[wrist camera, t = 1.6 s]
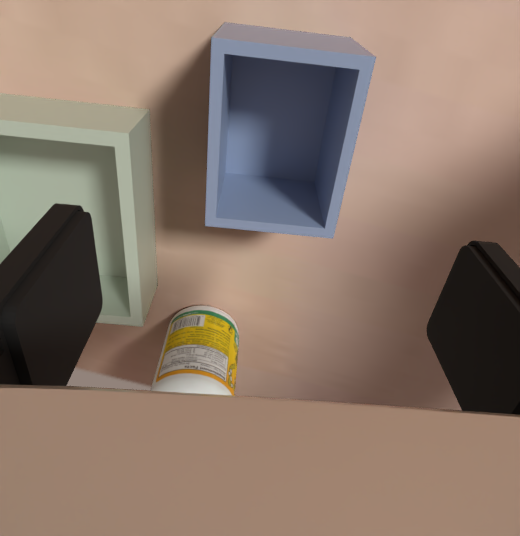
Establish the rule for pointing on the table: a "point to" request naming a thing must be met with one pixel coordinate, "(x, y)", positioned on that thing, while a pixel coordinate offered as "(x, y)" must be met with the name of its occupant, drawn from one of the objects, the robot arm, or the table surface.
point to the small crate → (282, 127)
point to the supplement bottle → (199, 353)
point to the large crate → (84, 188)
